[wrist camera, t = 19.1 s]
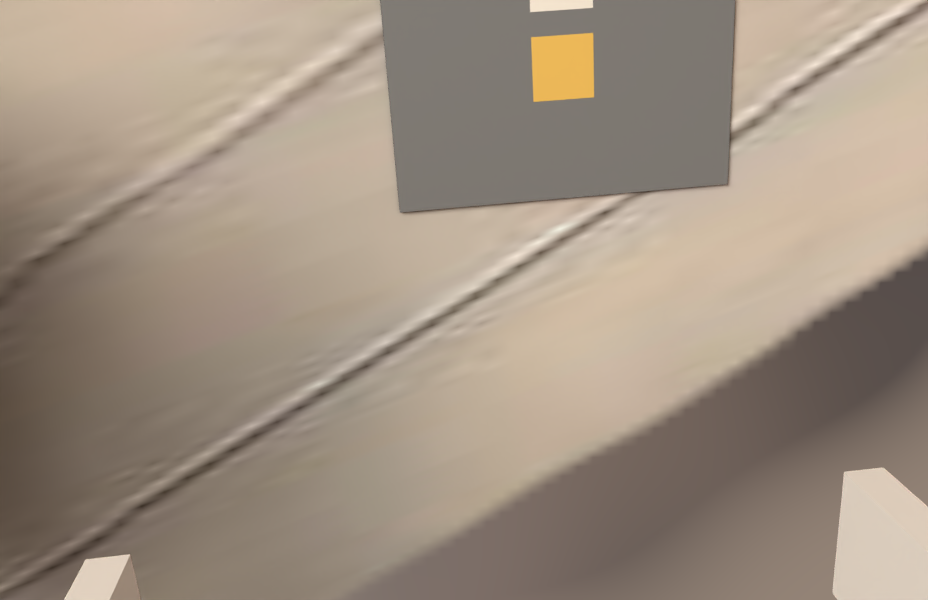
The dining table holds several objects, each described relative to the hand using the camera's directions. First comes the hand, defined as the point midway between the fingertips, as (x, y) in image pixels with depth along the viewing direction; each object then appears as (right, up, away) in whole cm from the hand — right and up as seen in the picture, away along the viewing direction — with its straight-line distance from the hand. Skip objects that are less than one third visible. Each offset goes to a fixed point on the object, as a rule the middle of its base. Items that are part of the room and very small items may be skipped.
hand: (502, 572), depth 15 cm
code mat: (+4, +19, +27) cm, 33 cm away
